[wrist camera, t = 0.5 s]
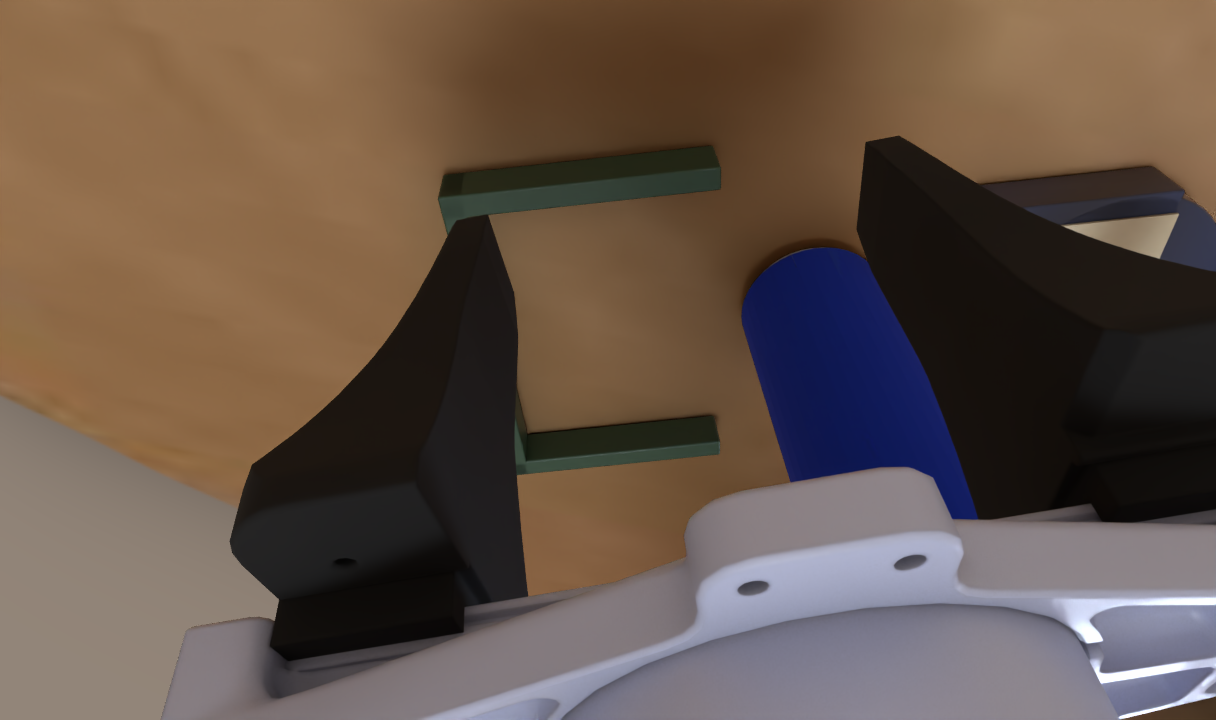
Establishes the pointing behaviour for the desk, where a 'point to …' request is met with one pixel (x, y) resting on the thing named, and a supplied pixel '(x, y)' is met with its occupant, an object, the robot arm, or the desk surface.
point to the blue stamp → (1123, 212)
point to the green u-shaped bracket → (581, 187)
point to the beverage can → (845, 375)
